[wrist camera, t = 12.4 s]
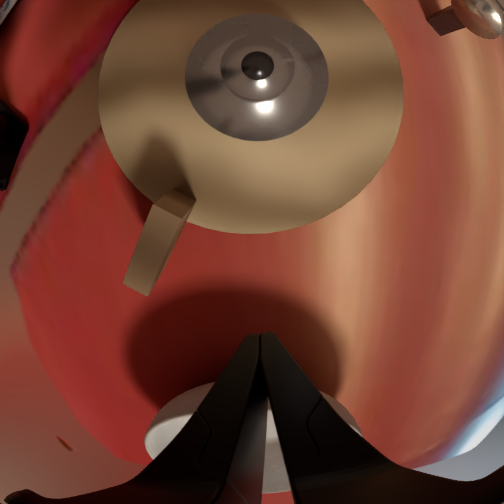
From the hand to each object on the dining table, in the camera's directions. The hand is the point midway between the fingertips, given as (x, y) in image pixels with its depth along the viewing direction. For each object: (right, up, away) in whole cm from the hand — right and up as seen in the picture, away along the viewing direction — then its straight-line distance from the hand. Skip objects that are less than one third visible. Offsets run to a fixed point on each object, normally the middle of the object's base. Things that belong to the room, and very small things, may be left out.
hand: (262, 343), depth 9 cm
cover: (0, +12, +5) cm, 13 cm away
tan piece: (0, +13, +7) cm, 15 cm away
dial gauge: (+14, +20, +4) cm, 25 cm away
